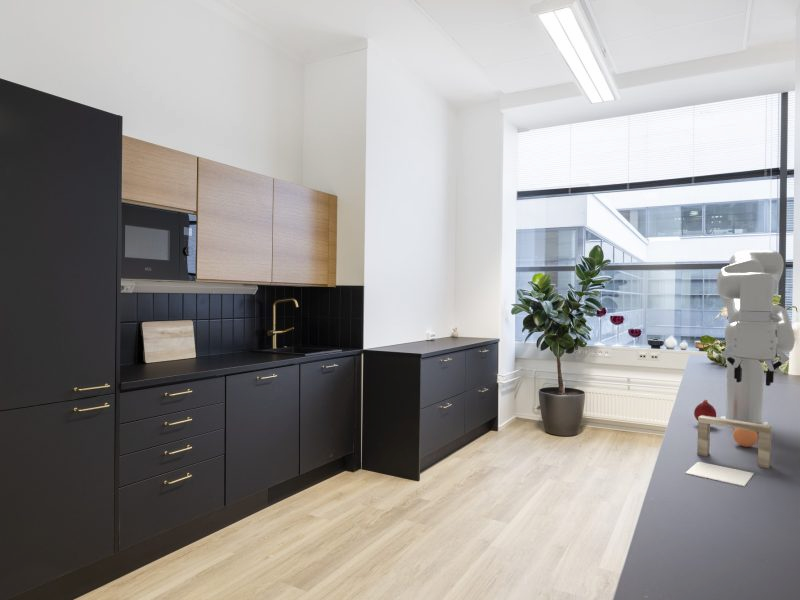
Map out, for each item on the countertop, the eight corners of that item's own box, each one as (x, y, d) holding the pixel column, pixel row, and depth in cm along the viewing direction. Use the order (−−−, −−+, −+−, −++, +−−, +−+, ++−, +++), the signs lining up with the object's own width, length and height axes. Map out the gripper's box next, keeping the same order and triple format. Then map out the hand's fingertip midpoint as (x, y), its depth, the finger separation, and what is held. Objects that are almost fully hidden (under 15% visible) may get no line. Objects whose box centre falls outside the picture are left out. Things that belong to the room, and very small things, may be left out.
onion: (719, 429, 157) (719, 402, 157) (697, 427, 158) (698, 400, 158) (711, 424, 162) (712, 398, 162) (691, 423, 163) (691, 397, 163)
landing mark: (697, 462, 124) (697, 461, 124) (753, 473, 117) (753, 473, 117) (685, 473, 116) (685, 472, 116) (744, 486, 109) (744, 485, 109)
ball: (734, 442, 143) (735, 421, 143) (759, 446, 139) (760, 425, 139) (730, 446, 139) (731, 425, 138) (755, 450, 135) (756, 429, 135)
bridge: (700, 451, 133) (701, 415, 133) (770, 465, 123) (771, 425, 123) (697, 454, 131) (698, 417, 130) (768, 468, 121) (769, 428, 121)
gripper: (796, 319, 142) (793, 386, 143) (722, 316, 154) (720, 378, 154) (792, 319, 137) (790, 389, 137) (716, 316, 148) (714, 381, 149)
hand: (753, 382), depth 146 cm, fingers open, 6 cm apart
